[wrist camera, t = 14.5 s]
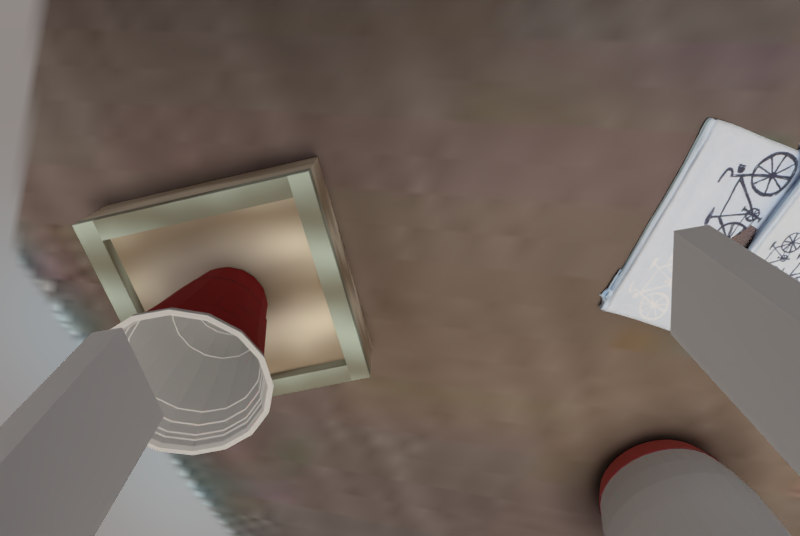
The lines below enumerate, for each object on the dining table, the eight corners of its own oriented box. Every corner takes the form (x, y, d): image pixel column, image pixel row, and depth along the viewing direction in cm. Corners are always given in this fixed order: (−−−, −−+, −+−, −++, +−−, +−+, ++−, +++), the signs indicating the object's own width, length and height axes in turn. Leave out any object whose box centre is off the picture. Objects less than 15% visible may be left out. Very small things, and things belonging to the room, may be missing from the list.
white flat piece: (770, 365, 51) (786, 378, 49) (588, 301, 48) (597, 312, 46) (909, 186, 44) (934, 193, 42) (707, 98, 41) (723, 101, 39)
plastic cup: (275, 374, 45) (238, 482, 34) (150, 329, 43) (68, 428, 32) (321, 269, 41) (297, 353, 30) (186, 214, 39) (107, 283, 28)
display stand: (106, 205, 43) (72, 225, 38) (317, 156, 42) (308, 171, 37) (189, 382, 50) (168, 416, 45) (371, 345, 49) (370, 377, 44)
